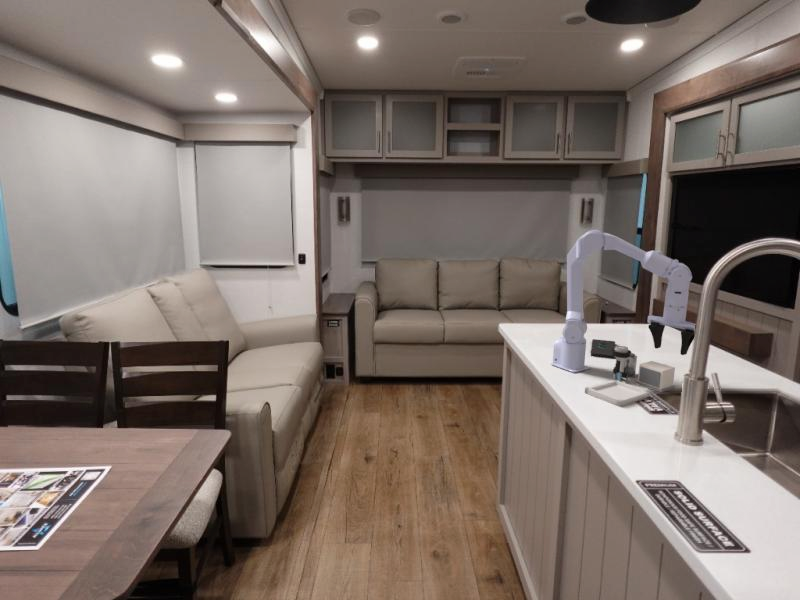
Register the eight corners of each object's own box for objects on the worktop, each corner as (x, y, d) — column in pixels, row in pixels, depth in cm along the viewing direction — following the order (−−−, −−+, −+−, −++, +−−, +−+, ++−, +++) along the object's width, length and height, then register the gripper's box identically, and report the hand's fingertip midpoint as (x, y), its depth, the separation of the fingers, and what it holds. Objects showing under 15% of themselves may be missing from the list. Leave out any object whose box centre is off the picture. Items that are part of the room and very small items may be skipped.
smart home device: (615, 341, 185) (616, 355, 167) (615, 345, 185) (616, 360, 167) (592, 338, 188) (590, 352, 170) (591, 343, 189) (590, 357, 170)
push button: (633, 384, 144) (637, 351, 142) (615, 384, 144) (618, 351, 142) (623, 376, 150) (626, 345, 148) (605, 376, 150) (608, 344, 148)
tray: (584, 392, 137) (585, 387, 136) (614, 384, 143) (614, 379, 143) (619, 406, 128) (620, 401, 127) (649, 397, 134) (650, 391, 134)
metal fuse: (618, 373, 153) (620, 353, 152) (626, 371, 155) (628, 351, 154) (629, 377, 149) (632, 356, 148) (637, 375, 151) (640, 354, 150)
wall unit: (635, 383, 144) (637, 363, 143) (649, 379, 148) (651, 360, 147) (661, 392, 138) (663, 371, 136) (675, 387, 141) (677, 367, 140)
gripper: (643, 302, 146) (639, 347, 148) (694, 311, 134) (688, 359, 136) (656, 300, 150) (652, 343, 152) (707, 309, 138) (701, 355, 140)
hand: (670, 351), depth 145 cm, fingers open, 7 cm apart
